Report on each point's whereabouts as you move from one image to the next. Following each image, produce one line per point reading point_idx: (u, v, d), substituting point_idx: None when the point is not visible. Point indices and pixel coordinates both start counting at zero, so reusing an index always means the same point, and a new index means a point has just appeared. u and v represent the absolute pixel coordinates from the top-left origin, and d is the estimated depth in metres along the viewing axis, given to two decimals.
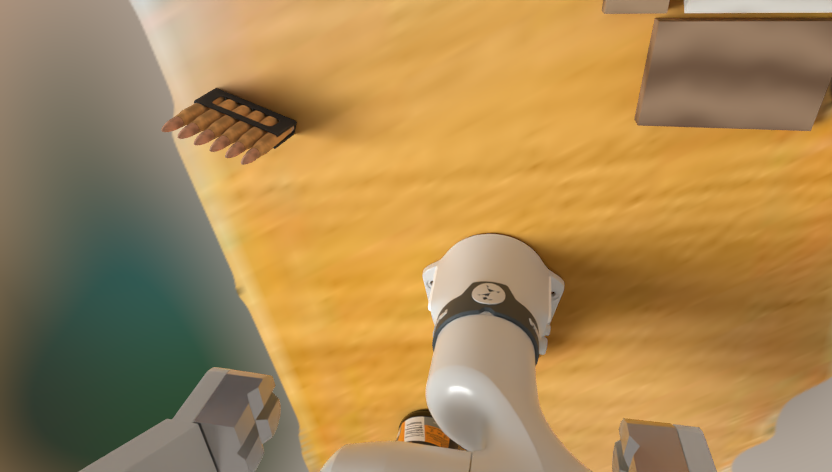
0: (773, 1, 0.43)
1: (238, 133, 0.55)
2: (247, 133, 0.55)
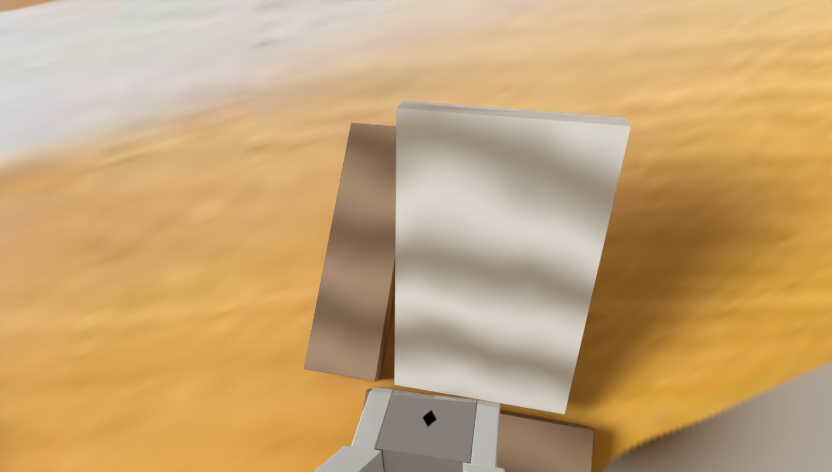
0: (489, 386, 0.34)
1: None
2: None
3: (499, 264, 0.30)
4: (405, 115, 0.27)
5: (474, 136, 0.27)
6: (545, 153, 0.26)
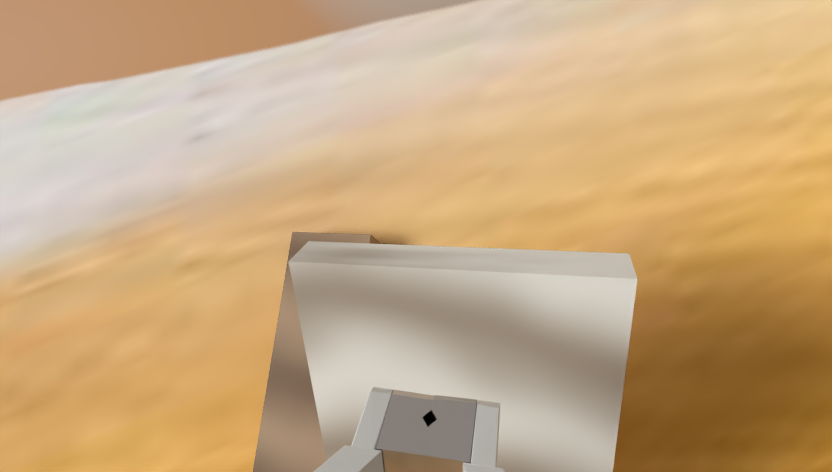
0: None
1: None
2: None
3: None
4: (302, 270, 0.19)
5: (403, 297, 0.18)
6: (510, 318, 0.17)
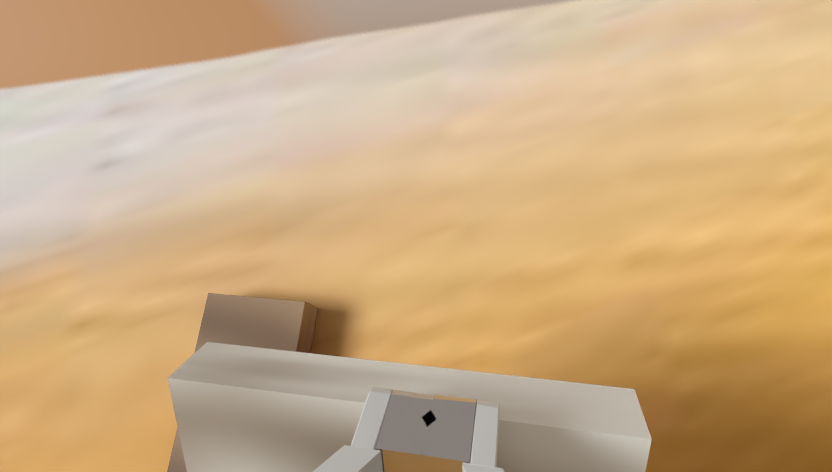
0: None
1: None
2: None
3: None
4: (186, 391, 0.13)
5: (326, 437, 0.13)
6: None
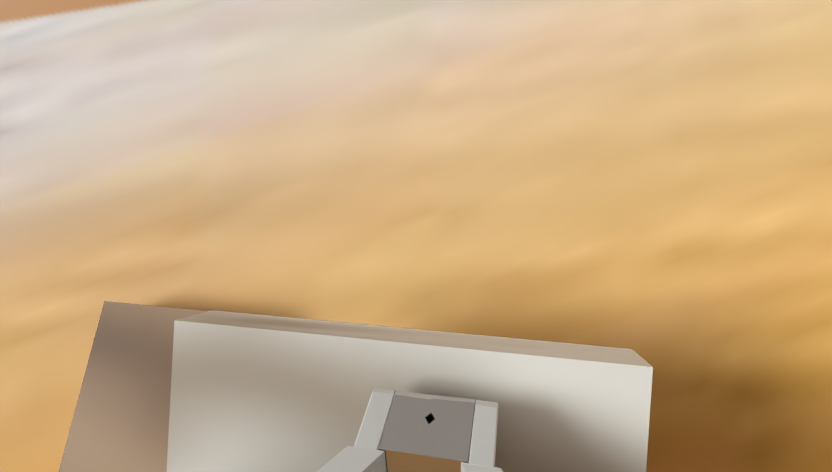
0: None
1: None
2: None
3: None
4: (190, 335, 0.13)
5: (326, 383, 0.13)
6: None
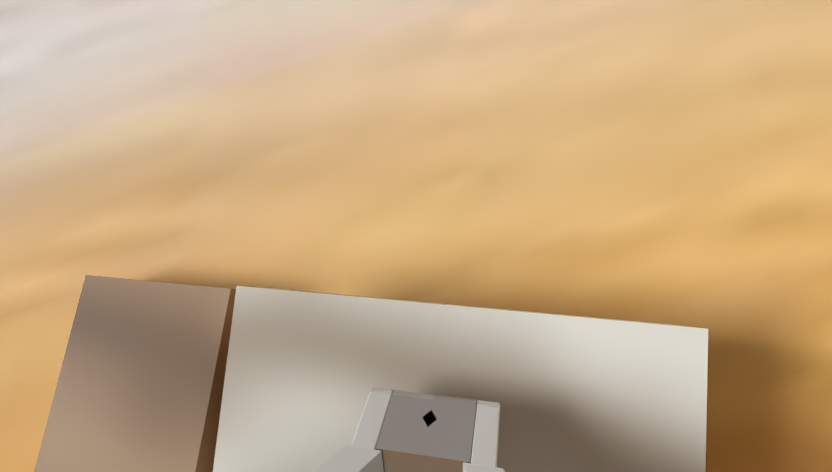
0: None
1: None
2: None
3: None
4: (251, 300, 0.14)
5: (383, 346, 0.13)
6: (532, 388, 0.12)
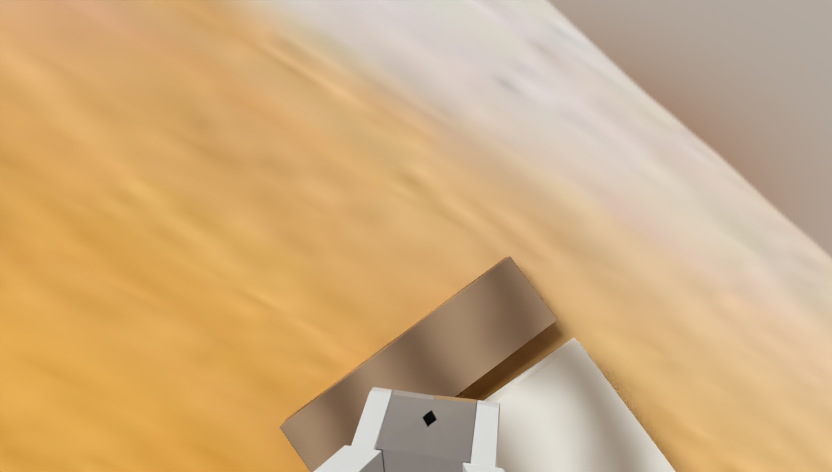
0: None
1: None
2: None
3: None
4: (579, 352, 0.33)
5: (604, 407, 0.33)
6: (632, 461, 0.32)
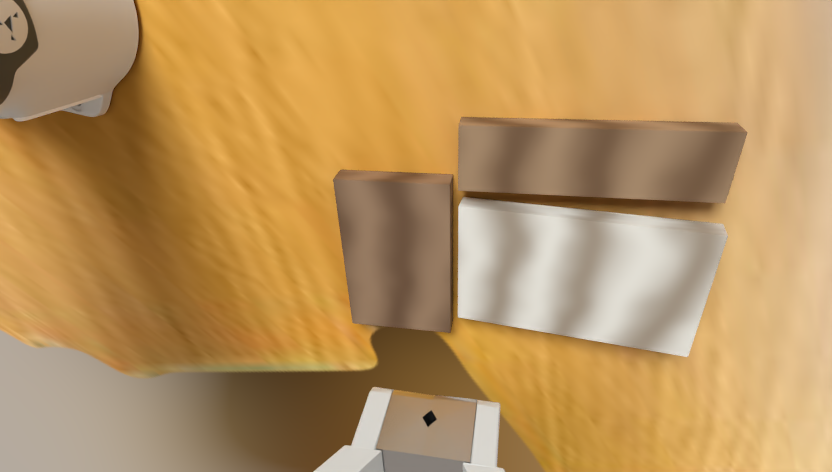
0: (472, 274, 0.45)
1: None
2: None
3: (587, 288, 0.42)
4: (720, 241, 0.37)
5: (694, 281, 0.39)
6: (674, 317, 0.41)
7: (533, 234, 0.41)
